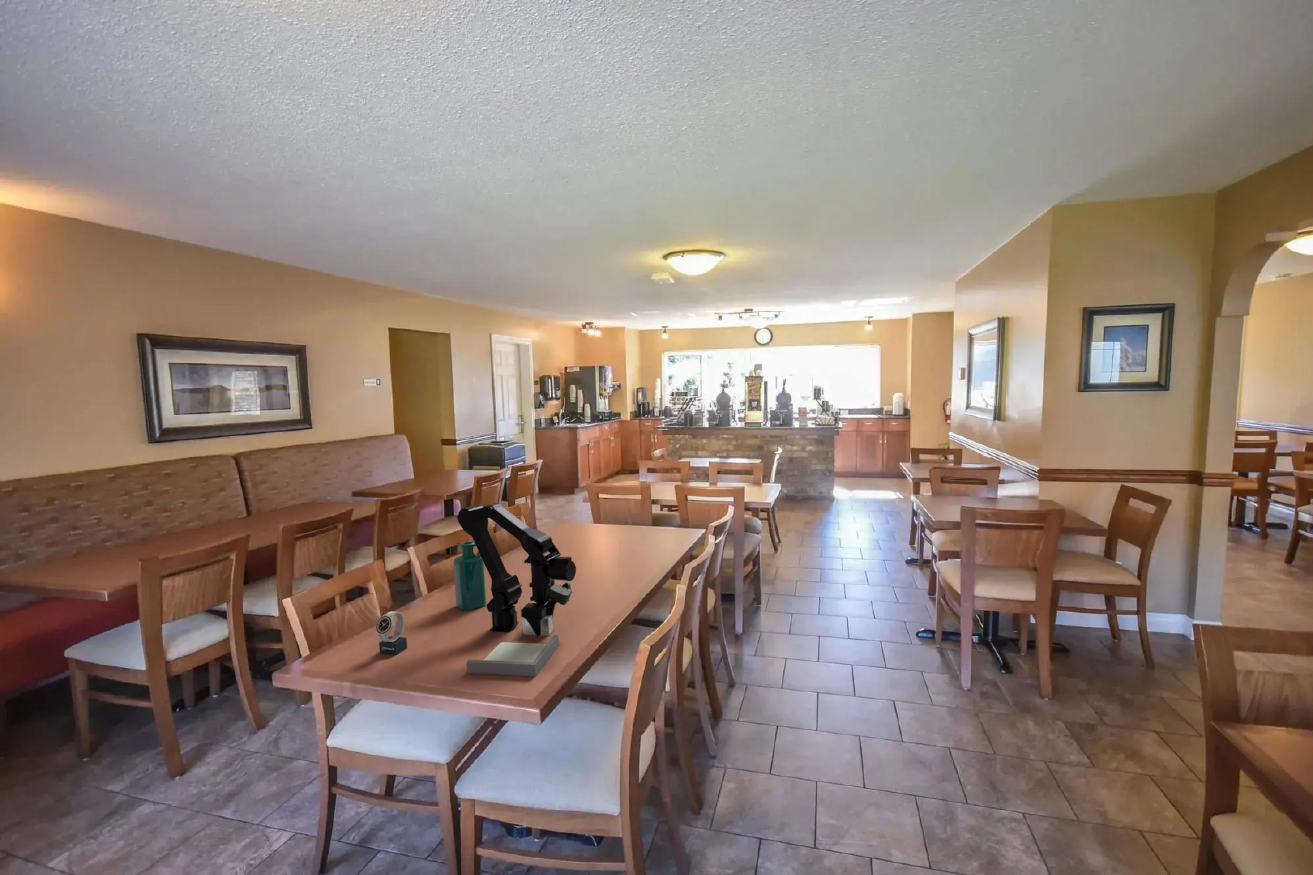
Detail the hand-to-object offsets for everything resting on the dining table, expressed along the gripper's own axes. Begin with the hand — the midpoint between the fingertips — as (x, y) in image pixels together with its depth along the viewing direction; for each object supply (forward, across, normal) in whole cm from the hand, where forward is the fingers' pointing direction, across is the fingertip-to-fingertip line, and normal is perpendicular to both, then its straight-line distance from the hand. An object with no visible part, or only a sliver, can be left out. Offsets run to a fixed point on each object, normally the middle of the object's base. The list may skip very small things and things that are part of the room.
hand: (544, 629), depth 167 cm
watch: (+1, -15, +39) cm, 42 cm away
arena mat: (+1, -16, +2) cm, 16 cm away
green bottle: (+1, +20, +33) cm, 39 cm away
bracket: (+1, +2, +2) cm, 3 cm away
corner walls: (+1, -16, +2) cm, 16 cm away
